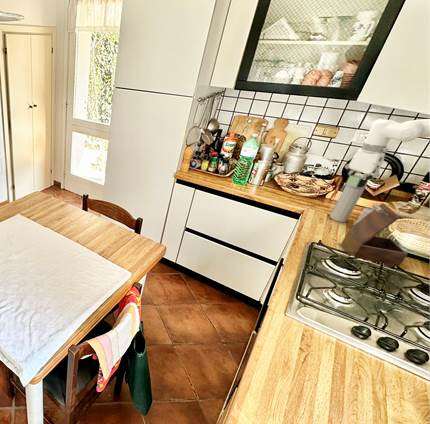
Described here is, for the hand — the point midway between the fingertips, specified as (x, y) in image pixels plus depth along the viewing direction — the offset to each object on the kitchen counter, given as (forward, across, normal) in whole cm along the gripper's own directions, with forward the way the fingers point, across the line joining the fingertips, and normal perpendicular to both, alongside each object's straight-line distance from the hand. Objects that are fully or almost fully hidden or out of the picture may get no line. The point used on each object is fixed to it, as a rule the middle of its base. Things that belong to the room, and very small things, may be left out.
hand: (354, 184), depth 147 cm
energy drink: (+24, -5, -11) cm, 27 cm away
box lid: (+9, -21, +14) cm, 27 cm away
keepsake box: (+24, -23, +10) cm, 35 cm away
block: (0, 0, 0) cm, 0 cm away
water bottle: (+24, +7, -11) cm, 27 cm away
